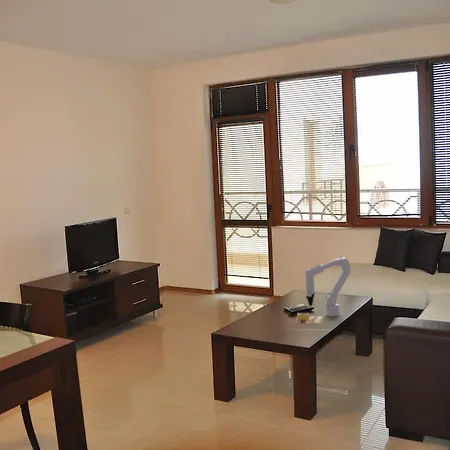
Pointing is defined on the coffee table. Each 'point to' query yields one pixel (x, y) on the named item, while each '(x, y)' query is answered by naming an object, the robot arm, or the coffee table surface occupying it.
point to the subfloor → (311, 320)
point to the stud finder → (303, 317)
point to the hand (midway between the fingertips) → (311, 304)
